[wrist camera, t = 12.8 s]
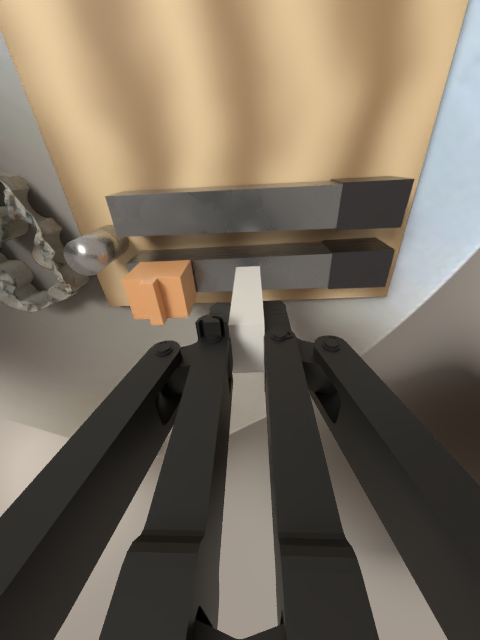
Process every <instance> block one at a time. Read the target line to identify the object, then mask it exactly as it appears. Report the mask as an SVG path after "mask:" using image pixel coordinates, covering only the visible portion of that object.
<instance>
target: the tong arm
mask: <svg viewBox="0 0 480 640" xmlns="http://www.w3.org/2000/svg"><path fill="white" fill-rule="evenodd" d="M414 180H415V179H412V178H404V177H397V176H377V177H358V178H339V179H331V180H330V181H314V182H294V183H275V184H255V185H236V186H216V187H196V188H177V189H157V190H138V191H123V192H119V193H115V194H112V195H108V196H105V198H106V201H107V205H108V208H109V211H110V214H111V218H112V221H113V224H114V228H115V231H116V234H117V237H132V236H157V235H182V234H207V233H232V232H257V231H282V230H307V229H332V228H334V229H336V230H353V229H378V228H401V225H402V222H403V218H404V215H405V211H406V208H407V204H408V201H409V197H410V194H411V190H412V187H413V183H414Z"/></svg>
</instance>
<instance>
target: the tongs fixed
mask: <svg viewBox="0 0 480 640" xmlns="http://www.w3.org/2000/svg"><path fill="white" fill-rule="evenodd" d="M128 247H129V241H128V238H127V237H117V234H116V231H115V228H114V225H105V226H102V227H100V228H98V229H96V230H94V231H92V232H89V233H87V234H85V235H83V236H81V237H79V238H76V239H74V240H72V241H70V242H68V243H67V244H66V245H65V247H64V258H65V260H66V262H67V264H68V265H69V266H70V267H71V268H72V269H73V270H74V271H76V272H77V273H79V274H82V275H85V276H92V275H95V274H97V273H98V272H100V271H101V270H102V269H104V268H105V267H106V266H108V265H109V264H110V263H112V262H113V261H114V260H116V259H117V258H118V257H120V256H121V255H122V254H124V253H125V252H126V251H127V249H128ZM394 252H395V249H393V248H392V247H390V246H389V245H387V244H386V243H384V242H382V241H381V240H379V239H378V238H376V237H372V238H353V239H333V240H322V241H320V242H300V243H281V244H261V245H242V246H223V247H203V248H184V249H164V250H145V251H140V252H139V253H138V254H137V255H135V256H134V257H133V258H132V259H131V260H129V261H128V262H127V263H126V266H127V269H128V273H129V272H130V271H131V270H132V269H133V268H134V267H135V266H136V265H138V264H139V263H140V262H157V261H178V260H191V266H192V271H193V277H194V283H195V289H196V293H197V292H223V291H233V286H234V279H235V272H236V267H250V266H260V275H261V287H262V290H273V289H299V288H324V287H327V288H328V289H346V288H372V287H385V286H386V282H387V278H388V275H389V271H390V267H391V263H392V260H393V256H394Z"/></svg>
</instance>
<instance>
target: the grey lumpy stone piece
mask: <svg viewBox="0 0 480 640" xmlns="http://www.w3.org/2000/svg"><path fill="white" fill-rule="evenodd" d="M0 182H1V183H3V185H4V186H5V188H6V190H4V191H3V192H4V194H5V199H4V202H5V204H6V206H1V207H0V248H1V246H2V242H5V241H7V240H10V239H13V238H16V237H19V236H22V235H24V234H26V233H27V231H28V229H29V226H28V223H29V224H33V223H35V225H36V227H37V233H36V235H35V239H34V245H35V247H34V248H33V250H32V255H33V257H34V259H35V261H36V262H37V263H38V264H39V265H40V266H42V267H43V268H46V269H53V271H54V275H55V276H56V278H57V280H58V281H59V282H58V283H56V284H55V285H53V286H51V287H50V288H49V289H48V291H45V290H42V291H38V290H37V289H36V288H35V287H34V286H33V285H32V284H31V281H32V280H33V273H32V271H31V269H30V268H29V267H28V266H27V265H26V264H25V263H23V262H21V261H19V260H8V259H7V258H6V257H5V256H4V255H3V254H2V253H1V252H0V300H1V301H2V302H4V303H5V304H6V305H8V306H10V307H12V308H15V309H19V310H22V311H26V312H31V313H32V312H36V311H38V310H40V309H42V308H45V307H47V306H50V305H51V304H54V303H56V302H59V301H62V300H65V299H67V298H69V297H72V296H71V295H74V294H76V293H78V291H77V290H78V289H79V288H80V287H81V286H83V285H84V284H85V283H87V282H88V281H90V279H89V276H85V275H82V274H79V273H77V272H76V271H74V270H73V269H72V268H71V267H70V266H69V265H68V264H67V262H66V260H65V258H64V246H63V245H62V243H61V241H60V232H61V230H62V227H61V226H60V225H59V224H58V223H56V222H55V221H54V219H53V218H47V217H42V216H41V215H39V214H37V213H36V212H35V211H34V210H33V209H32V208H31V206H30V204H29V202H28V198H27V193H28V191H29V189H30V187H29V186H28V184H27V183H26V182H25V180H24V179H23V178H22V177H21V176H20V175H10V174H7V173H5V172H4V171H2V170H1V169H0Z"/></svg>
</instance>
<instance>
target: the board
mask: <svg viewBox="0 0 480 640" xmlns="http://www.w3.org/2000/svg"><path fill="white" fill-rule="evenodd" d="M468 1H469V0H0V30H1V32H2V35H3V37H4V40H5V42H6V45H7V47H8V50H9V53H10V55H11V58H12V60H13V63H14V65H15V68H16V70H17V73H18V75H19V78H20V81H21V83H22V86H23V88H24V91H25V93H26V96H27V98H28V101H29V104H30V106H31V109H32V111H33V114H34V116H35V119H36V121H37V124H38V126H39V129H40V132H41V134H42V137H43V139H44V142H45V144H46V147H47V149H48V152H49V154H50V157H51V160H52V162H53V165H54V167H55V170H56V172H57V175H58V177H59V180H60V183H61V185H62V188H63V190H64V193H65V195H66V198H67V200H68V203H69V205H70V208H71V211H72V213H73V216H74V218H75V221H76V223H77V226H78V228H79V231H80V233H81V236H83V235H85V234H87V233H89V232H92V231H94V230H96V229H98V228H100V227H102V226H105V225H114V224H113V221H112V218H111V214H110V211H109V208H108V205H107V201H106V198H105V196H108V195H112V194H115V193H119V192H123V191H138V190H157V189H177V188H196V187H216V186H236V185H255V184H275V183H294V182H314V181H330V180H331V179H339V178H358V177H377V176H397V177H404V178H412V179H415V180H414V183H413V187H412V190H411V194H410V197H409V201H408V204H407V208H406V211H405V215H404V218H403V222H402V225H401V228H378V229H353V230H336V229H334V228H332V229H307V230H282V231H257V232H232V233H207V234H182V235H157V236H132V237H127V238H128V241H129V247H128V249H127V251H126V252H125V253H124V254H122V255H121V256H120V257H118V258H117V259H116V260H114V261H113V262H112V263H110V264H109V265H108V266H106V267H105V268H104V269H102V270H101V271H100V272H98V273H97V277H98V279H99V282H100V284H101V287H102V290H103V292H104V295H105V297H106V300H107V302H108V305H109V306H130V304H129V301H128V298H127V295H126V292H125V289H124V287H123V284H122V281H121V280H122V279H123V278H124V277H125V276H126V275H127V274H128V269H127V266H126V263H127V262H128V261H129V260H131V259H132V258H133V257H134V256H135V255H137V254H138V253H139V252H140V251H145V250H164V249H184V248H203V247H223V246H242V245H261V244H281V243H300V242H320V241H322V240H333V239H353V238H372V237H376V238H378V239H379V240H381V241H382V242H384V243H386V244H387V245H389V246H390V247H392V248H393V249H395V252H394V256H393V260H392V263H391V267H390V271H389V275H388V278H387V282H386V286H385V287H372V288H346V289H328V288H327V287H324V288H299V289H273V290H262V300H263V301H272V300H301V299H328V298H356V297H383V296H387V292H388V288H389V285H390V281H391V278H392V274H393V270H394V267H395V263H396V260H397V256H398V253H399V249H400V245H401V242H402V238H403V235H404V231H405V227H406V224H407V220H408V217H409V213H410V209H411V206H412V202H413V199H414V195H415V191H416V188H417V184H418V181H419V177H420V173H421V170H422V166H423V163H424V159H425V156H426V152H427V148H428V145H429V141H430V138H431V134H432V130H433V127H434V123H435V120H436V116H437V112H438V109H439V105H440V102H441V98H442V94H443V91H444V87H445V84H446V80H447V76H448V73H449V69H450V66H451V62H452V59H453V55H454V51H455V48H456V44H457V41H458V37H459V33H460V30H461V26H462V23H463V19H464V15H465V12H466V8H467V5H468ZM196 294H197V297H196V299H195V302H194V303H219V302H231V301H232V294H233V291H223V292H197V293H196Z"/></svg>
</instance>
